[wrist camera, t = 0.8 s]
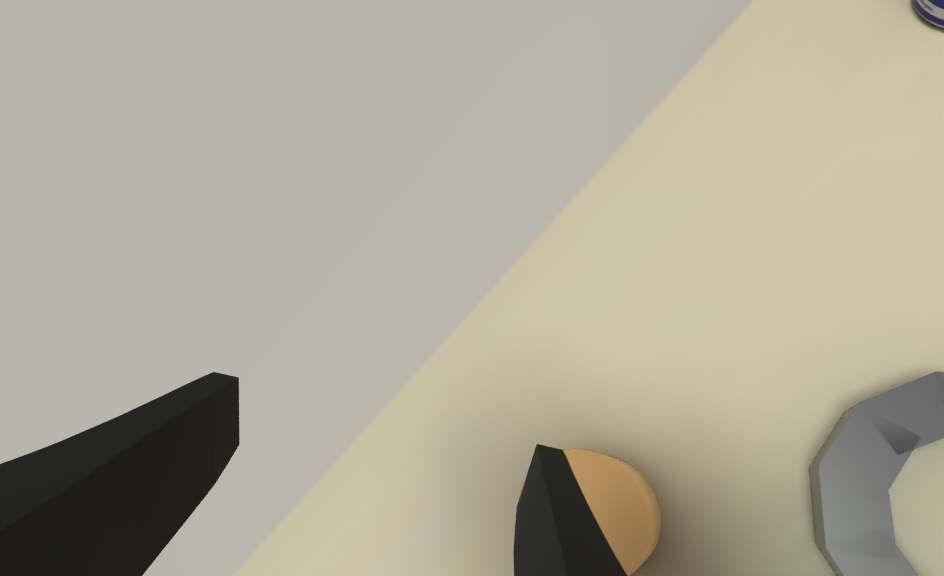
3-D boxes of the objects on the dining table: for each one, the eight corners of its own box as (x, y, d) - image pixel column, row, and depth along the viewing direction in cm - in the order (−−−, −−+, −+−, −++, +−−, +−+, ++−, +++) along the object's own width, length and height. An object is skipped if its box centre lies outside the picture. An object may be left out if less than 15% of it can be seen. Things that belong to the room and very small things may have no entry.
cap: (683, 549, 20) (674, 565, 16) (581, 587, 21) (547, 612, 17) (627, 439, 22) (607, 428, 18) (539, 479, 23) (500, 477, 19)
